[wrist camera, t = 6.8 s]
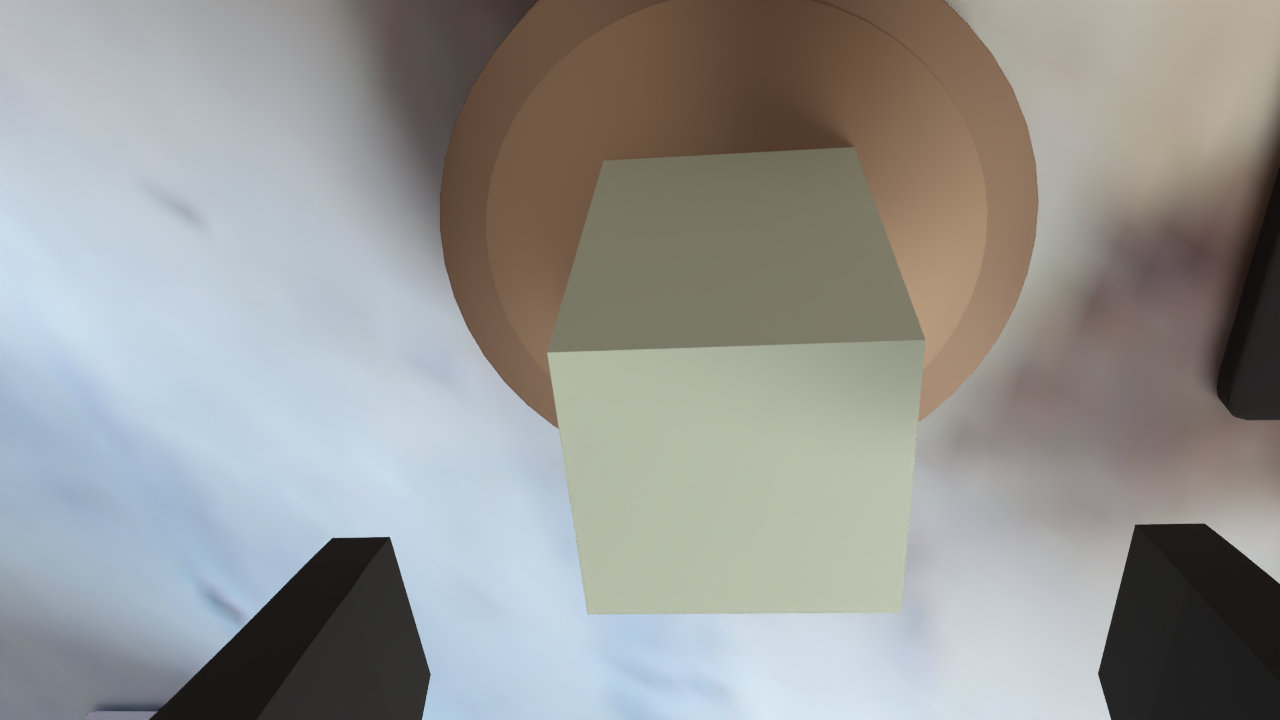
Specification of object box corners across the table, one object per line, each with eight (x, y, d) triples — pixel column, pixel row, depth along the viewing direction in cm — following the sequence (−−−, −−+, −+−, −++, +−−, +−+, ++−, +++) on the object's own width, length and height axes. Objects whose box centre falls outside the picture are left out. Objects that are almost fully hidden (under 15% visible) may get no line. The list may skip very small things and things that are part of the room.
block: (625, 368, 17) (587, 613, 12) (603, 160, 15) (547, 352, 10) (845, 361, 17) (901, 612, 12) (853, 147, 15) (925, 339, 10)
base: (514, 414, 21) (491, 487, 19) (425, -66, 16) (379, -41, 14) (970, 402, 20) (1000, 477, 18) (1033, -116, 15) (1086, -97, 13)
